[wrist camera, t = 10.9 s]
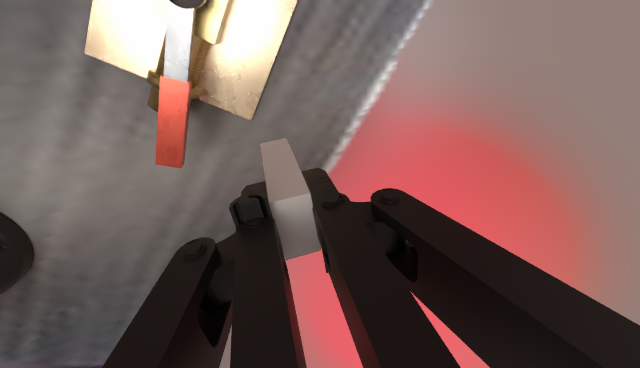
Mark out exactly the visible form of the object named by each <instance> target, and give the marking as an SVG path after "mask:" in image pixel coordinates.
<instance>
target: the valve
mask: <svg viewBox="0 0 640 368" xmlns="http://www.w3.org/2000/svg"><path fill="white" fill-rule="evenodd" d="M296 3H297V0H206V1H205V3H204V4H203V5H202V6H201V7H200V8H198V9H196V15H195V25H194V36H193V47H192V57H191V68H190V79H189V81H192V88H191V98H190V105H191V101H192V100H197V99H199V100H201V101H204V102H206V103H209V104H211V105H214V106H216V107H219V108H221V109H224V110H226V111H228V112H231V113H233V114H236V115H238V116H241V117H243V118H246V119H248V120H251V119H252V117H253V114H254V112H255V109H256V106H257V104H258V101H259V99H260V96H261V94H262V91H263V88H264V86H265V83H266V81H267V78H268V75H269V73H270V70H271V68H272V65H273V62H274V60H275V57H276V55H277V52H278V50H279V47H280V44H281V42H282V39H283V37H284V34H285V31H286V29H287V26H288V24H289V21H290V18H291V16H292V13H293V11H294V8H295V5H296ZM167 9H168V0H93V3H92V9H91V15H90V21H89V28H88V34H87V40H86V46H85V54H88V55H90V56H93V57H95V58H98V59H100V60H102V61H105V62H107V63H110V64H112V65H115V66H117V67H120V68H122V69H125V70H127V71H130V72H132V73H135V74H137V75H140V76H142V77H144V78H147V79H146V80H147V82H148V83H150V84H151V85H152V88H151V92H150V96H149V100H148V106H149V107H150V108H152V109H153V110H155V111H157V112H158V108H159V90H160V76H162V75H164V61H165V43H166V26H167Z"/></svg>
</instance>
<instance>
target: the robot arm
mask: <svg viewBox="0 0 640 368" xmlns="http://www.w3.org/2000/svg"><path fill="white" fill-rule="evenodd" d="M260 148H261V155H262V162H263V168H264V175H265V181H264V182H260V183H256V184H252V185H248V186H246V187H245V188H244V189H243V191H242V192H241V196H240V197H239V198H237V199H235V200H234V201H233V202H232V203H231V204H230V206H229V210H230V212H231V215H232V218H233V221H234V223H235V226H236V232H235V233H234V234H233V235H231V236H230V237H228V238H226V239H225V240H222V241H220V242H218V243H215V241H214V240H213V239H211V238H203V237H202V238H198V239H194V240H192V241H190V242H188V243H186V244H185V245H183V246H182V247H181V248H180V249H179V250H178V251H177V252H176V253H175V255H174V256H173V258H172V259H171V261H170V262H169V264H168V266H167V267H166V269H165V270H164V272H163V273H162V275H161V276H160V278H159V280H158V281H157V283H156V284H155V286H154V287H153V289H152V291H151V292H150V294H149V295H148V297H147V298H146V300H145V301H144V303H143V305H142V306H141V308H140V309H139V311H138V312H137V314H136V316H135V317H134V319H133V320H132V322H131V323H130V325H129V326H128V328H127V330H126V331H125V333H124V334H123V336H122V337H121V339H120V340H119V342H118V344H117V345H116V347H115V348H114V350H113V351H112V353H111V355H110V356H109V358H108V359H107V361H106V362H105V364H104V365H103V367H102V368H219V366H220V362H221V359H222V356H223V352H224V349H225V346H226V342H227V339H228V335H229V332H230V328H231V325H232V336H231V360H230V361H231V363H230V368H307V367H306V362H305V357H304V352H303V347H302V341H301V336H300V331H299V326H298V321H297V315H296V310H295V305H294V300H293V295H292V290H291V285H290V279H289V274H288V269H287V266H286V262H285V260H288V259H292V258H295V257H299V256H302V255H306V254H309V253H313V252H316V251H320V250H321V248H322V252H323V257H324V262H325V268H326V273H329V275H330V277H331V280H332V283H333V285H334V288H335V291H336V294H337V297H338V299H339V302H340V305H341V308H342V310H343V313H344V316H345V319H346V321H347V324H348V327H349V330H350V332H351V335H352V338H353V341H354V343H355V346H356V349H357V352H358V354H359V357H360V360H361V363H362V366H363V368H460V366H459V365H458V363H457V362H456V360H455V358H454V357H453V355H452V354H451V353H450V351H449V349H448V348H447V346H446V345H445V343H444V342H443V341H442V339H441V337H440V336H439V334H438V333H437V331H436V330H435V328H434V327H433V326H432V324H431V322H430V321H429V319H428V318H427V316H426V315H425V313H424V312H423V310H422V309H421V307H420V306H419V304H418V303H417V301H416V300H415V298H414V297H413V295H412V294H411V292H412V293H413V294H414V295H415V296H416V297H417V298H418V299H419V300H420V301H421V302H422V303H423V304H424V305H425V306H426V307H427V308H428V309H430V311H432V312H433V313H434V314H435V315H436V316H437V317H438V318H439V319H440V320H441V321H442V322H443V323H444V324H445V325H446V326H447V327H448V328H450V330H451V331H453V333H455V334H456V335H457V336H458V337H459V338H460V339H461V340H462V341H463V342H464V343H465V344H466V345H467V346H468V347H469V348H470V349H471V350H472V351H473V352H474V353H475V354H476V355H478V356H479V357H480V358H481V359H482V360H483V361H484V362H485V363H486V364H487V365H488V366H489V367H490V368H640V325H638V324H636V323H634V322H632V321H631V320H629V319H627V318H625V317H624V316H622V315H620V314H618V313H617V312H615V311H613V310H611V309H610V308H608V307H606V306H604V305H603V304H601V303H599V302H597V301H595V300H594V299H592V298H590V297H588V296H587V295H585V294H583V293H581V292H579V291H578V290H576V289H574V288H572V287H571V286H569V285H567V284H565V283H564V282H562V281H560V280H558V279H557V278H555V277H553V276H551V275H550V274H548V273H546V272H544V271H542V270H541V269H539V268H537V267H535V266H534V265H532V264H530V263H528V262H527V261H525V260H523V259H521V258H520V257H518V256H516V255H514V254H513V253H511V252H509V251H507V250H506V249H504V248H502V247H500V246H499V245H497V244H495V243H493V242H492V241H490V240H488V239H486V238H484V237H483V236H481V235H479V234H477V233H476V232H474V231H472V230H470V229H469V228H467V227H465V226H463V225H461V224H460V223H458V222H456V221H454V220H453V219H451V218H449V217H447V216H446V215H444V214H442V213H440V212H439V211H437V210H435V209H433V208H431V207H430V206H428V205H426V204H425V203H423V202H421V201H419V200H417V199H415V198H414V197H412V196H410V195H409V194H407V193H405V192H403V191H401V190H398V189H392V188H388V189H382V190H378V191H376V192H375V193H373V194H372V196H371V202H351V201H350V200H349V198H348V197H347V196H346V195H344V194H341V193H339V192H338V190H337V189H336V187H335V186H334V184H333V183H332V181H331V179H330V178H329V176H328V175H327V173H326V171H324V170H322V169H320V168H315V169H311V170H307V171H303V172H301V170H300V168H299V166H298V164H297V161H296V159H295V157H294V154H293V152H292V150H291V148H290V145H289V143H288V141H287V138H283V139H278V140H274V141H269V142H265V143H260ZM320 245H321V246H320ZM32 260H33V250H32V246H31V243H30V241H29V239H28V238H27V236H26V235H25V234H24V232H23V231H22V230H21V229H20V228H19V227H18V226H17V225H16V224H15V223H14V222H12V221H11V220H10V219H8V218H7V217H5V216H4V215H2V214H0V294H1V293H3V292H5V291H6V290H8V289H9V288H11V287H12V286H13V285H14V284H15V283H16V282H17V281H18V280H19V279H20V278H21V277H22V276H23V275H24V274H25V273H26V272H27V271H28V269H29V268H30V266H31V264H32ZM410 291H411V292H410Z"/></svg>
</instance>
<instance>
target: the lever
mask: <svg viewBox="0 0 640 368" xmlns="http://www.w3.org/2000/svg"><path fill="white" fill-rule="evenodd" d="M205 1H206V0H168V9H167V26H166V43H165V61H164V75H162V76H160V90H159V108H158V127H157V146H156V164H157V165H164V166H170V167H176V168H182V166H183V164H184V160H185V150H186V140H187V129H188V119H189V109H190V98H191V88H192V81H189V79H190V68H191V57H192V47H193V36H194V25H195V15H196V9H198V8H200V7H201V6H202V5H203V4H204V3H205Z"/></svg>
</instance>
